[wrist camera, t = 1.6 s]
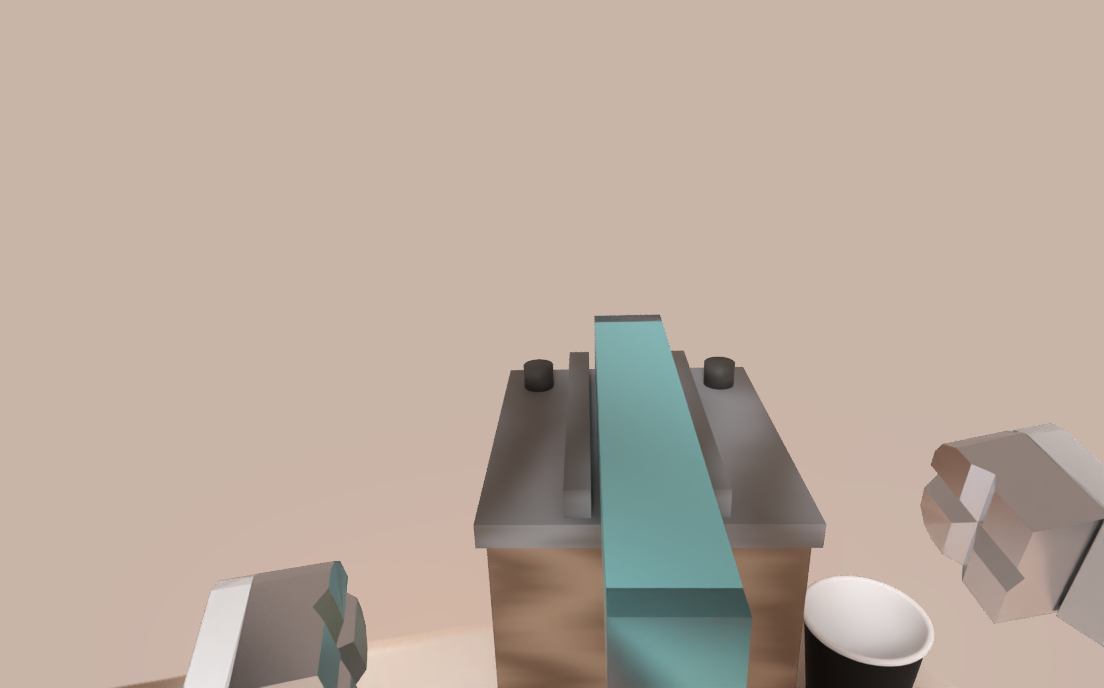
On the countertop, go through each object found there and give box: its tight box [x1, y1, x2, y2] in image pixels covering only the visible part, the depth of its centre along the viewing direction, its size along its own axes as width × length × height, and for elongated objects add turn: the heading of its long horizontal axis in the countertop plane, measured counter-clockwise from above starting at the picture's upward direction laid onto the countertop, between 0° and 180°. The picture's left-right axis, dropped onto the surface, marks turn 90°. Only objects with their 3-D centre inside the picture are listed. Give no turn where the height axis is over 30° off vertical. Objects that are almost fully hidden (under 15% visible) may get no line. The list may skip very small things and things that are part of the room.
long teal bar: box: [595, 315, 752, 688], centre depth 33 cm, size 4×26×4 cm, turn 178°
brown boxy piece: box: [474, 351, 826, 688], centre depth 43 cm, size 15×17×27 cm
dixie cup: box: [803, 575, 934, 688], centre depth 48 cm, size 8×8×11 cm
